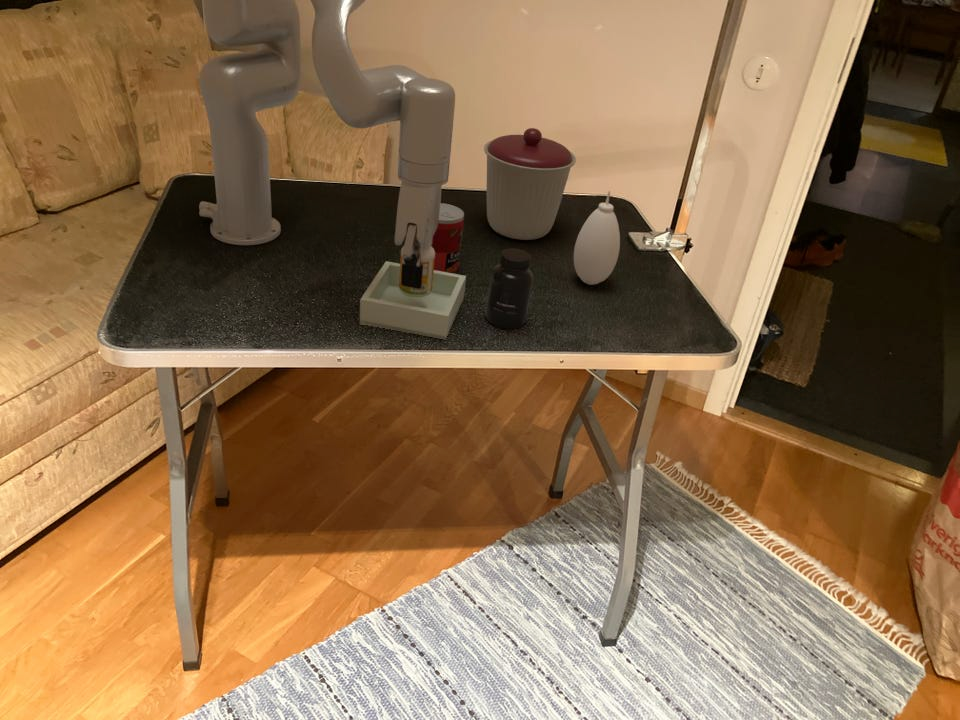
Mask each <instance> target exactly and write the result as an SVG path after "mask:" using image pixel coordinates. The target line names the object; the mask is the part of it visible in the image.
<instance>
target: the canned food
mask: <svg viewBox="0 0 960 720" xmlns="http://www.w3.org/2000/svg"><path fill="white" fill-rule="evenodd" d="M464 220H465V212H464V210H462V209H461V208H460V207H457V206H455V205H452V204H448V203H442V202H441V203H440V215H439V222H438V227H437V230H436V232H435V234H434V235H433V244H432V248H433V249H434V251H435V262H434V270H436V271H442V272H447V273H453V274H456V272H457V271H458V269H459V268H460V267H459V266H460V261H461V260H460V259H461V249H462V240H463V232H464V225H465V223H464Z"/></svg>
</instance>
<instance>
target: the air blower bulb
mask: <svg viewBox="0 0 960 720" xmlns="http://www.w3.org/2000/svg"><path fill="white" fill-rule="evenodd" d="M610 195H611V190H608V192H607V196H606V199H605V202H600V203H598V207H597V208H596V209H595V210H593V212H592V213H591V214H589V216H588V218H587V219H586V220H585V222H584V223H583V225H582V226H581V229H580V230H579V232H578V235H577V237H576V240H575V245H574V249H573V265H574V270H575V272H576V274H577V276H578V277H579V278H580V280H581V281H582V282H583V283H585V284H586V285H590V286H591V285H592V286H593V285H597V284H600V283H602V282H604V281H606V279H608V278H609V276H611V274H612V273H613V271H614V269H615V267H616V264H617V262H618V258H619V255H620V250H621V249H620V246H621V235H620V234H621V233H620V226H619V222H618V219H617V216H616V214H615V212H614V208H615V207H614V205H613V204H611V203H609V201H610V197H611V196H610Z"/></svg>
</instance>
